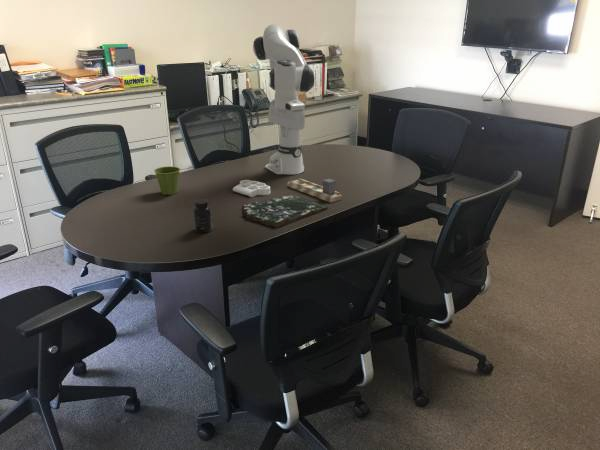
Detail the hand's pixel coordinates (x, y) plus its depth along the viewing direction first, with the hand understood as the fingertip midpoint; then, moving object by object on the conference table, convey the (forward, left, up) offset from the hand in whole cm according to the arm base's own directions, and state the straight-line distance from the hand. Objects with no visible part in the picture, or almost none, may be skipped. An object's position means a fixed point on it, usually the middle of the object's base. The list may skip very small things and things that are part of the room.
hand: (285, 137), depth 208 cm
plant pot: (-51, -28, -32) cm, 67 cm away
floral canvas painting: (0, -3, -32) cm, 32 cm away
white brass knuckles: (-28, +3, -32) cm, 43 cm away
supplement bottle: (-3, -39, -32) cm, 51 cm away
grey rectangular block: (+2, +24, -29) cm, 37 cm away
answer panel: (-8, +24, -32) cm, 40 cm away
